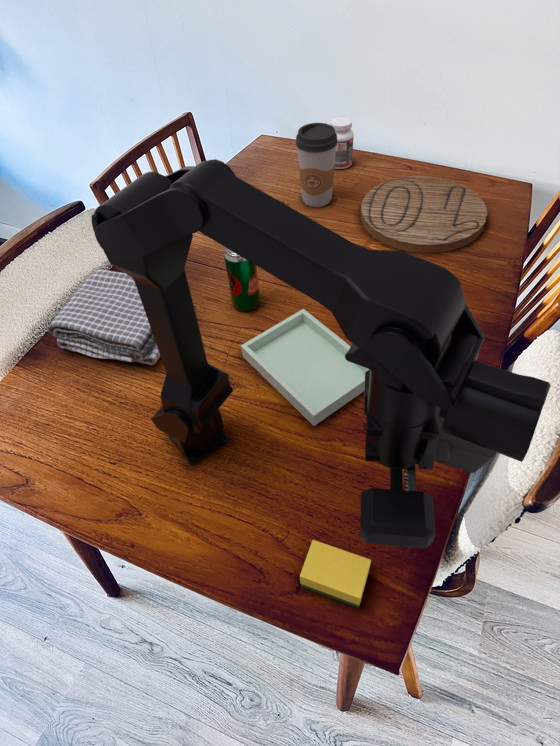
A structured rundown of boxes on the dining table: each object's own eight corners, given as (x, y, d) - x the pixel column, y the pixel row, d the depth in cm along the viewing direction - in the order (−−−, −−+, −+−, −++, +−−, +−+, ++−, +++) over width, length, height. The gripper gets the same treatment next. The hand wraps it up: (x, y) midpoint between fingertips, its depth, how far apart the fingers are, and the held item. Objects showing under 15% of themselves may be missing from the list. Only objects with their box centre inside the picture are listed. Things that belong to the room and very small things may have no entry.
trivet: (485, 188, 112) (487, 180, 111) (485, 259, 97) (487, 251, 95) (369, 180, 117) (369, 172, 116) (351, 246, 102) (351, 237, 100)
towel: (102, 295, 97) (88, 261, 91) (192, 311, 92) (183, 276, 86) (56, 353, 87) (37, 319, 82) (154, 374, 83) (141, 340, 77)
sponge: (300, 586, 60) (299, 576, 58) (312, 550, 63) (312, 539, 60) (359, 608, 58) (360, 598, 56) (369, 570, 61) (371, 559, 58)
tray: (313, 426, 75) (313, 415, 73) (242, 356, 85) (240, 345, 83) (378, 381, 80) (380, 369, 78) (303, 319, 89) (303, 308, 87)
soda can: (257, 314, 91) (249, 258, 82) (229, 311, 92) (219, 256, 83) (263, 295, 94) (257, 239, 85) (236, 292, 95) (227, 237, 86)
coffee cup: (293, 208, 112) (290, 139, 100) (303, 187, 117) (301, 120, 105) (331, 212, 110) (332, 142, 98) (339, 191, 115) (342, 123, 103)
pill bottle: (353, 169, 121) (355, 126, 113) (329, 171, 121) (329, 128, 113) (350, 157, 124) (352, 114, 117) (326, 159, 124) (327, 116, 117)
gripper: (519, 509, 37) (476, 585, 49) (486, 327, 49) (458, 423, 61) (362, 497, 39) (357, 573, 51) (367, 324, 51) (362, 418, 63)
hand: (389, 490), depth 56 cm, fingers open, 9 cm apart
